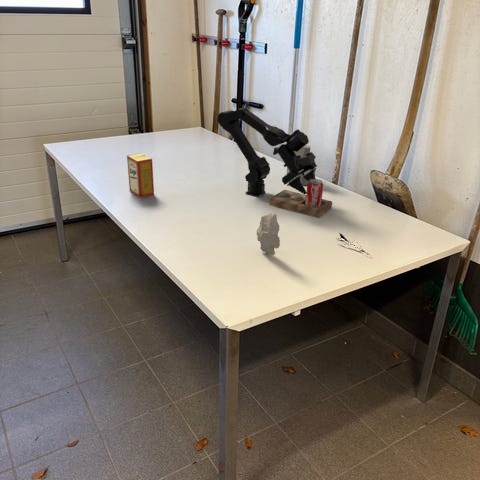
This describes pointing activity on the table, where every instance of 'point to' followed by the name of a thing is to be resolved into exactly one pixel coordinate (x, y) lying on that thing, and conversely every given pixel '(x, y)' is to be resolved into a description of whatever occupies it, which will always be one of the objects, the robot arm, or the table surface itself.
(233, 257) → the table surface
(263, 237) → the grey figurine
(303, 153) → the hip flask
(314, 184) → the soda can
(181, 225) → the table surface
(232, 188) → the table surface
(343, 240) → the toy airplane
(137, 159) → the baking soda box
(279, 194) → the wooden tray
